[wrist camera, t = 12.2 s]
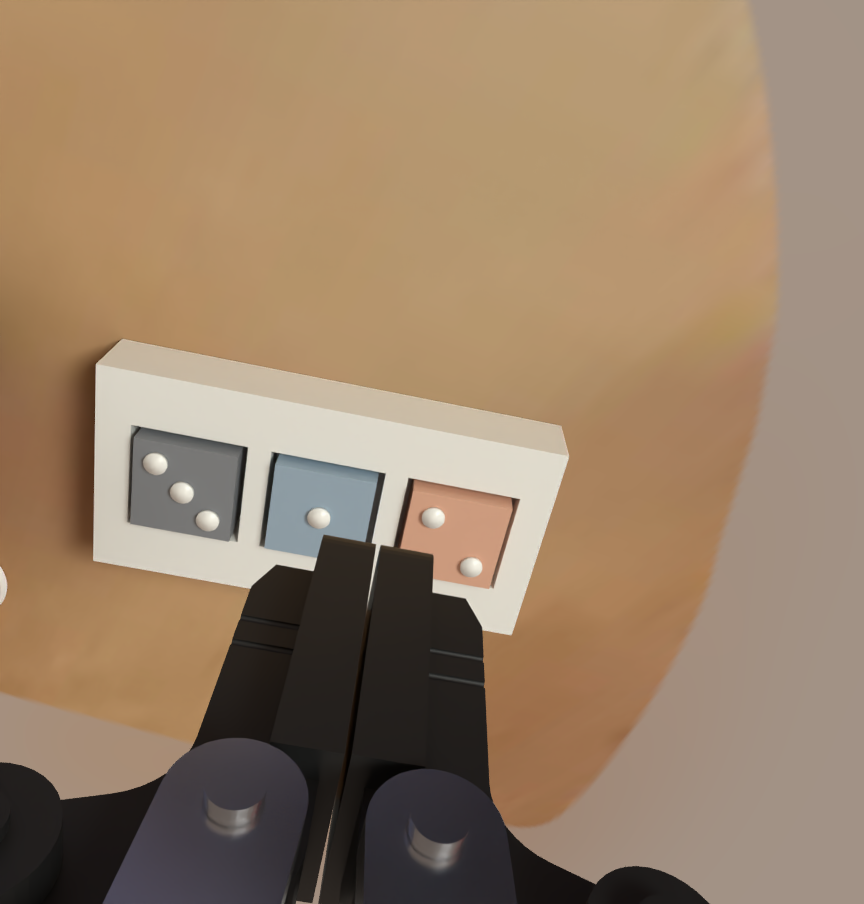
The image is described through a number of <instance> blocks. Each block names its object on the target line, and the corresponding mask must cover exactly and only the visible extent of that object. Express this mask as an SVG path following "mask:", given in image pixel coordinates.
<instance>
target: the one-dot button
mask: <svg viewBox="0 0 864 904" xmlns="http://www.w3.org/2000/svg"><path fill="white" fill-rule="evenodd" d="M378 475H379V472H376V471H371V470H365V469H360V468H355V467H350V466H344V465H339V464H334V463H329V462H323V461H318V460H313V459H308V458H302V457H297V456H292V455H287V454H281V453H280V454H279V457H278V459H277V462H276V464H275V471H274V478H273V486H272V493H271V501H270V509H269V516H268V524H267V531H266V539H265V546H264V548H266V549H271V550H277V551H282V552H288V553H293V554H299V555H304V556H310V557H315V558H317V556H318V553H319V549H320V545H321V541H322V537H323V535H330V536H335V537H340V538H346V539H351V540H357V541H362V542H365V541H366V536H367V531H368V526H369V521H370V516H371V511H372V506H373V501H374V496H375V491H376V486H377V481H378Z"/></svg>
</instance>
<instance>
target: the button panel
mask: <svg viewBox="0 0 864 904" xmlns="http://www.w3.org/2000/svg"><path fill="white" fill-rule="evenodd" d="M141 427H145V428H150V429H156V430H161V431H166V432H171V433H176V434H182V435H187V436H192V437H197V438H203V439H208V440H213V441H218V442H224V443H229V444H234V445H239V446H245V447H248V454H247V462H246V471H245V480H244V489H243V498H242V507H241V515H240V517H239V520H238V522H237V524H236V527H235V529H234V531H233V533H232V536H231V538H230V540H229V542H227V541H222V540H216V539H211V538H205V537H200V536H194V535H189V534H183V533H178V532H172V531H167V530H161V529H156V528H150V527H145V526H139V525H134V524H130V519H131V493H132V467H133V441H134V436H135V435H136V434H137V433H138V431H139V430H140V429H141ZM280 453H281V454H287V455H292V456H297V457H302V458H308V459H313V460H318V461H323V462H329V463H334V464H339V465H344V466H350V467H355V468H360V469H365V470H371V471H376V472H379V475H378V481H377V486H376V491H375V496H374V501H373V506H372V511H371V516H370V521H369V526H368V531H367V536H366V541H365V542H368V543H373V544H376V550H375V557H374V563H373V570H372V577H371V583H370V590H369V596H370V591H371V586H372V581H373V577H374V572H375V567H376V562H377V558H378V553H379V549H380V546H381V545H385V546H391V547H396V548H398V541H399V537H400V532H401V528H402V523H403V519H404V514H405V510H406V505H407V501H408V496H409V492H410V487H411V483H412V478H413V479H418V480H423V481H428V482H433V483H439V484H444V485H449V486H454V487H460V488H465V489H470V490H475V491H481V492H486V493H491V494H496V495H502V496H507V497H511V499H512V508H513V510H512V514H511V517H510V520H509V524H508V527H507V530H506V534H505V537H504V541H503V544H502V547H501V551H500V554H499V557H498V561H497V564H496V568H495V571H494V574H493V578H492V581H491V585H490V588H489V589H485V588H480V587H474V586H469V585H463V584H458V583H452V582H447V581H441V580H436V579H433V591H432V592H433V593H438V594H444V595H449V596H455V597H461V598H466V600H467V602H468V603H469V605H470V607H471V609H472V610H473V612H474V614H475V615H476V617H477V619H478V621H479V622H480V624H481V626H482V630H485V631H491V632H496V633H502V634H508V635H512V632H513V629H514V626H515V623H516V620H517V617H518V614H519V611H520V607H521V604H522V601H523V598H524V595H525V592H526V589H527V586H528V583H529V580H530V576H531V573H532V570H533V567H534V564H535V561H536V558H537V555H538V552H539V549H540V545H541V542H542V539H543V536H544V533H545V530H546V527H547V524H548V521H549V518H550V514H551V511H552V508H553V505H554V502H555V499H556V496H557V493H558V490H559V487H560V483H561V480H562V477H563V474H564V471H565V468H566V465H567V462H568V459H569V454H568V450H567V446H566V442H565V439H564V435H563V431H562V427H561V426H560V425H555V424H550V423H545V422H540V421H535V420H530V419H525V418H520V417H515V416H510V415H505V414H499V413H494V412H489V411H484V410H479V409H474V408H469V407H464V406H459V405H454V404H449V403H444V402H439V401H434V400H429V399H424V398H419V397H414V396H409V395H404V394H398V393H393V392H388V391H383V390H378V389H373V388H368V387H363V386H358V385H353V384H348V383H343V382H338V381H333V380H328V379H323V378H318V377H313V376H308V375H303V374H298V373H292V372H287V371H282V370H277V369H272V368H267V367H262V366H257V365H252V364H247V363H242V362H237V361H232V360H227V359H222V358H217V357H212V356H207V355H202V354H197V353H191V352H186V351H181V350H176V349H171V348H166V347H161V346H156V345H151V344H146V343H141V342H136V341H131V340H126V339H122V340H120V341H119V342H118V343H117V344H116V345H115V346H114V347H113V348H112V349H111V350H110V351H109V352H108V353H107V354H106V355H105V356H104V357H103V358H102V359H100V360H99V361H98V362H97V363H96V391H95V465H94V539H93V561H98V562H103V563H109V564H115V565H120V566H126V567H132V568H137V569H143V570H148V571H154V572H160V573H165V574H171V575H176V576H182V577H188V578H193V579H199V580H205V581H210V582H216V583H221V584H227V585H233V586H238V587H244V588H249V589H251V586H252V585H253V584H254V583H256V582H257V581H258V580H259V579H260V578H261V577H262V576H264V575H265V574H266V573H267V572H268V571H269V570H270V569H272V568H273V567H274V566H275V565H276V564H277V565H282V566H288V567H293V568H299V569H304V570H310V571H314V568H315V564H316V560H317V558H315V557H310V556H304V555H299V554H293V553H288V552H282V551H277V550H271V549H266V548H264V546H265V539H266V531H267V524H268V516H269V509H270V501H271V493H272V486H273V478H274V471H275V464H276V462H277V459H278V457H279V454H280ZM369 596H368V600H369ZM367 605H368V603H367Z"/></svg>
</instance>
